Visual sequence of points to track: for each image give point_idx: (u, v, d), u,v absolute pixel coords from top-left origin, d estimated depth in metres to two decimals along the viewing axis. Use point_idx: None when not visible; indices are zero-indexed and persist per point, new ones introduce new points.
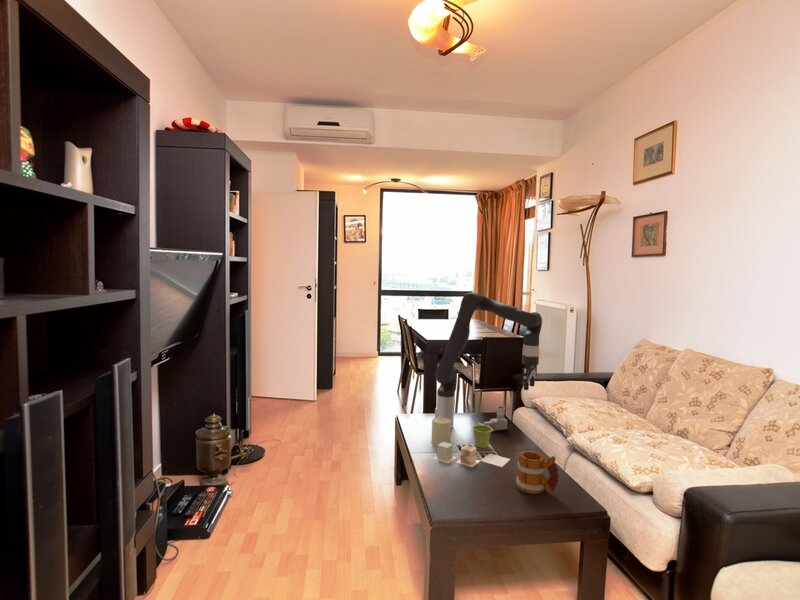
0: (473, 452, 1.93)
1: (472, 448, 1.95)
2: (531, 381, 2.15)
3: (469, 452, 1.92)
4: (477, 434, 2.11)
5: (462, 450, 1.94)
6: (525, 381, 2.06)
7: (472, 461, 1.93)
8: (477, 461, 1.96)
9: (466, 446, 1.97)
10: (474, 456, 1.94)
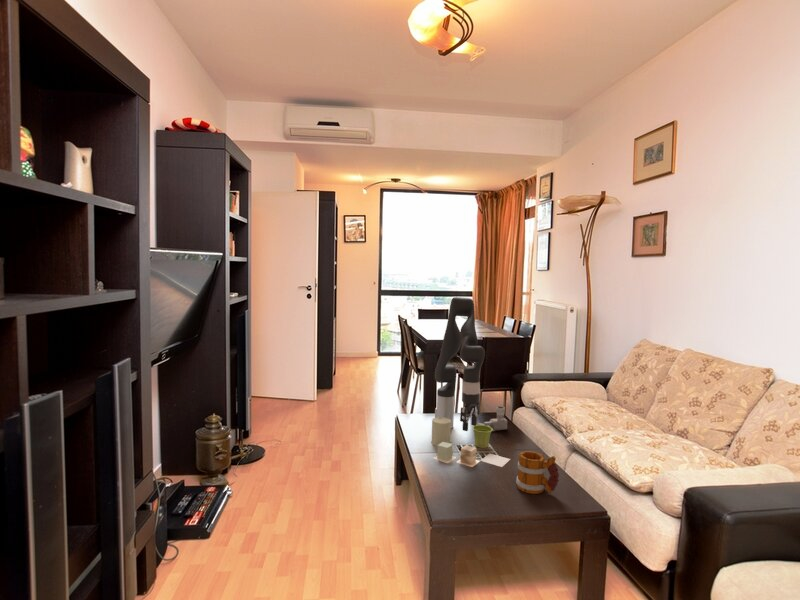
0: (473, 452, 1.93)
1: (472, 448, 1.95)
2: (473, 420, 1.97)
3: (469, 452, 1.92)
4: (477, 434, 2.11)
5: (462, 450, 1.94)
6: (463, 421, 1.88)
7: (472, 461, 1.93)
8: (477, 461, 1.96)
9: (466, 446, 1.97)
10: (474, 456, 1.94)
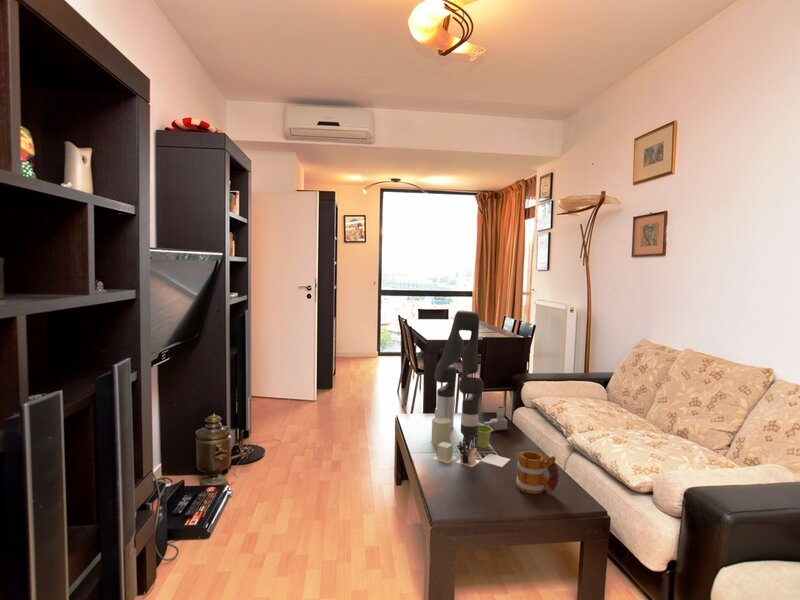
0: (473, 452, 1.93)
1: (472, 448, 1.95)
2: None
3: (469, 452, 1.92)
4: None
5: None
6: (463, 454, 1.90)
7: (472, 461, 1.93)
8: (477, 461, 1.96)
9: (466, 446, 1.97)
10: (474, 456, 1.94)
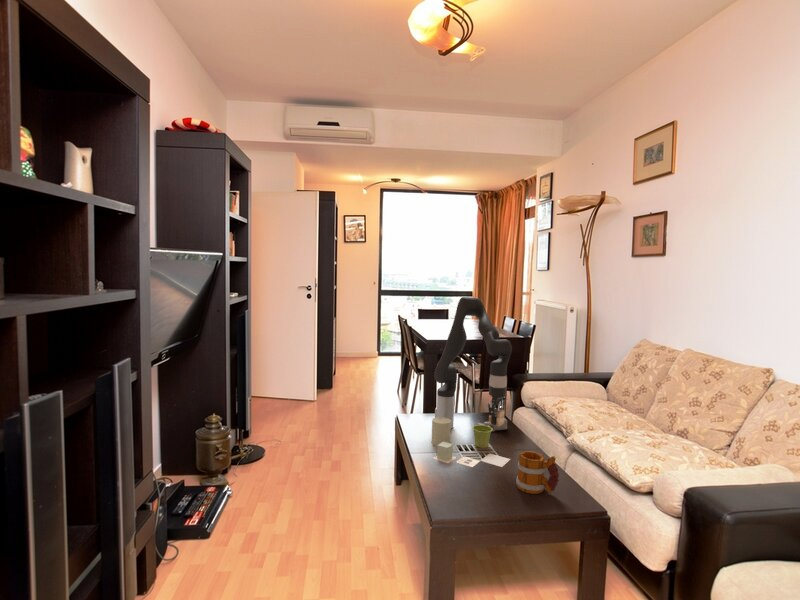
0: (501, 413, 1.94)
1: (500, 410, 1.96)
2: None
3: (497, 413, 1.93)
4: (477, 434, 2.11)
5: None
6: (492, 415, 1.91)
7: (500, 423, 1.94)
8: (477, 461, 1.96)
9: None
10: (502, 418, 1.95)
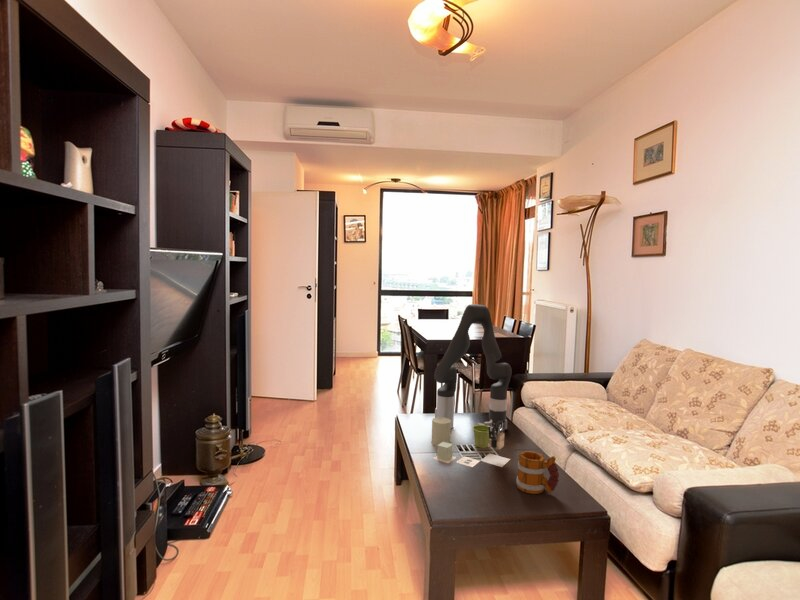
0: (501, 436, 1.95)
1: (500, 433, 1.97)
2: None
3: (497, 436, 1.94)
4: (477, 434, 2.11)
5: None
6: (492, 439, 1.92)
7: (501, 446, 1.95)
8: (477, 461, 1.96)
9: None
10: (502, 441, 1.96)
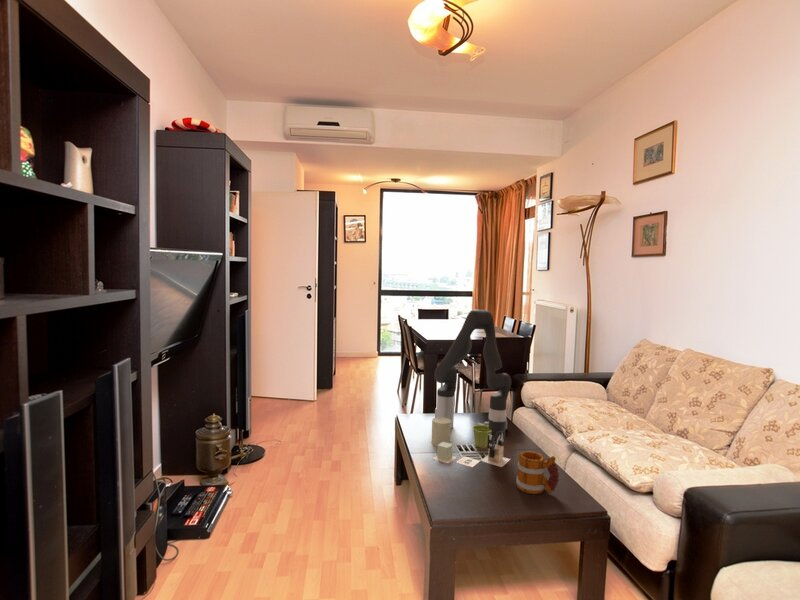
0: (501, 450, 1.96)
1: (500, 446, 1.97)
2: None
3: (497, 450, 1.94)
4: (477, 434, 2.11)
5: None
6: (490, 449, 1.91)
7: (500, 459, 1.95)
8: (477, 461, 1.96)
9: None
10: (502, 454, 1.97)
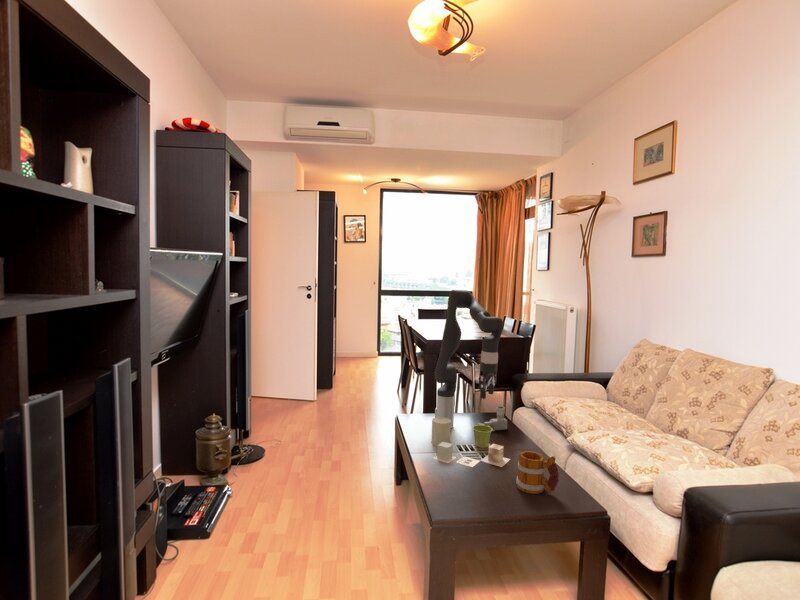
0: (501, 450, 1.96)
1: (500, 446, 1.97)
2: (490, 389, 2.04)
3: (497, 450, 1.94)
4: (477, 434, 2.11)
5: (490, 448, 1.96)
6: (482, 389, 1.95)
7: (500, 459, 1.95)
8: (477, 461, 1.96)
9: (493, 445, 1.99)
10: (502, 454, 1.97)
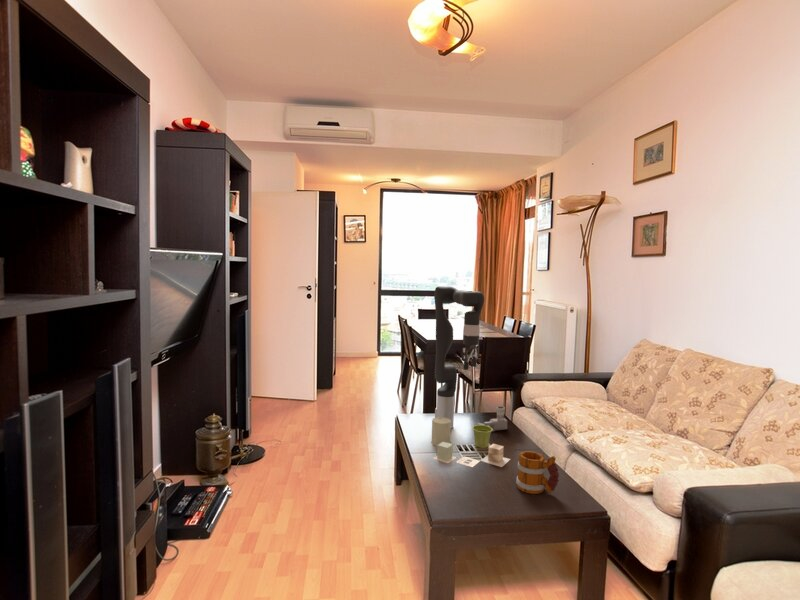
0: (501, 450, 1.96)
1: (500, 446, 1.97)
2: (473, 362, 2.13)
3: (497, 450, 1.94)
4: (477, 434, 2.11)
5: (490, 448, 1.96)
6: (464, 360, 2.03)
7: (500, 459, 1.95)
8: (477, 461, 1.96)
9: (493, 445, 1.99)
10: (502, 454, 1.97)
